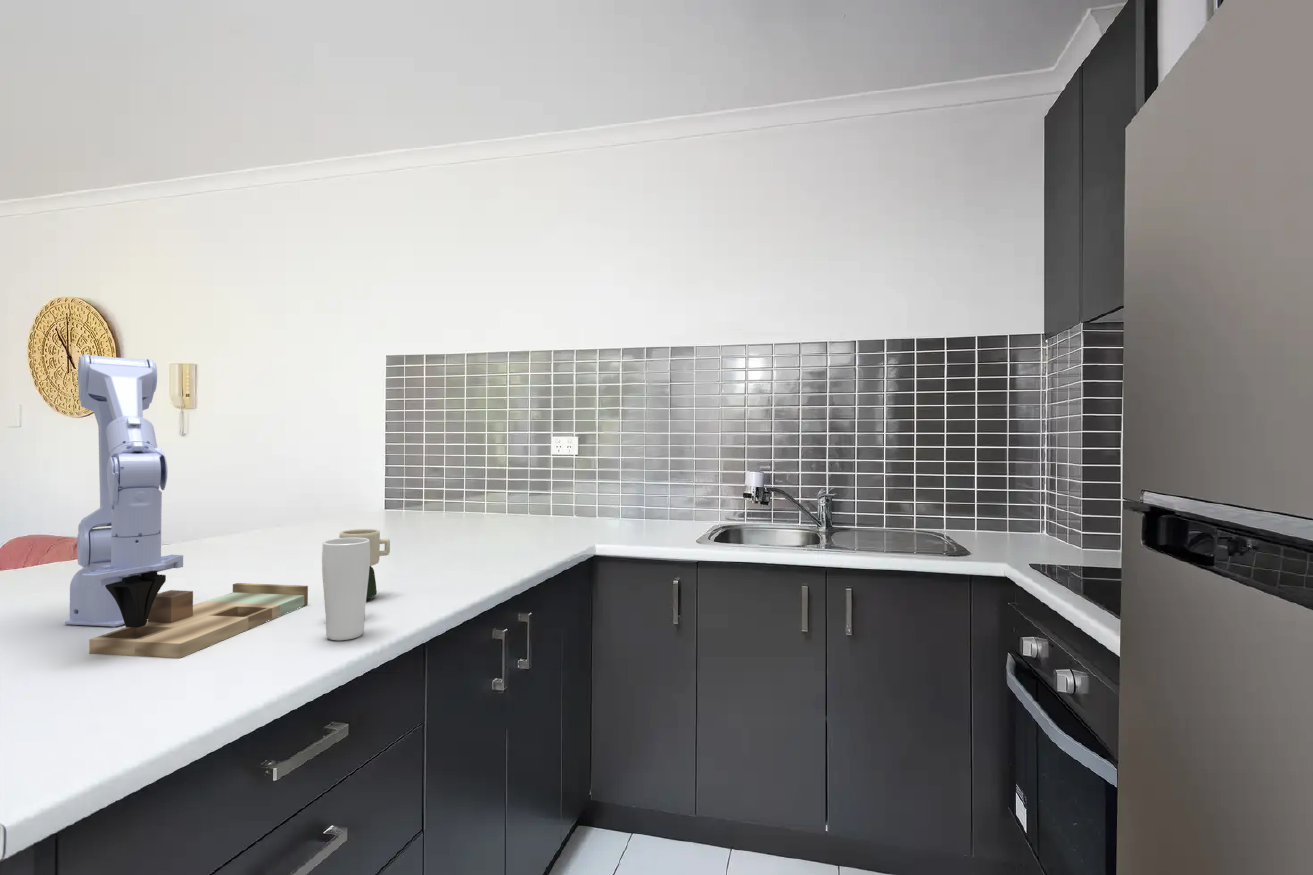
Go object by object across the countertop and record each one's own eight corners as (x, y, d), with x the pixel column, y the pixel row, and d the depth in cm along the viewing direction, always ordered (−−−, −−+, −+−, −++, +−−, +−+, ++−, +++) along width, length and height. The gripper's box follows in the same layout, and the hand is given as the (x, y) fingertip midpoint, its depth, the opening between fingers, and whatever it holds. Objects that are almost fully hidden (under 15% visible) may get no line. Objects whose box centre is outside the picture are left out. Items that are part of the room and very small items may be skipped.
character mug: (384, 591, 127) (385, 526, 127) (393, 599, 121) (394, 531, 121) (324, 599, 121) (325, 531, 121) (330, 607, 115) (331, 536, 115)
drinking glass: (378, 632, 101) (379, 539, 101) (345, 645, 95) (346, 545, 95) (345, 627, 104) (346, 536, 104) (310, 640, 97) (311, 542, 97)
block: (147, 622, 99) (148, 596, 99) (170, 614, 103) (170, 590, 103) (171, 623, 98) (171, 597, 98) (192, 615, 102) (193, 591, 102)
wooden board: (89, 653, 90) (89, 628, 90) (236, 601, 118) (236, 583, 118) (180, 657, 89) (180, 633, 89) (307, 604, 117) (307, 585, 117)
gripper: (115, 543, 86) (114, 643, 86) (201, 527, 100) (200, 613, 100) (68, 541, 87) (67, 641, 87) (160, 526, 101) (159, 611, 101)
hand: (135, 626), depth 94 cm, fingers closed
